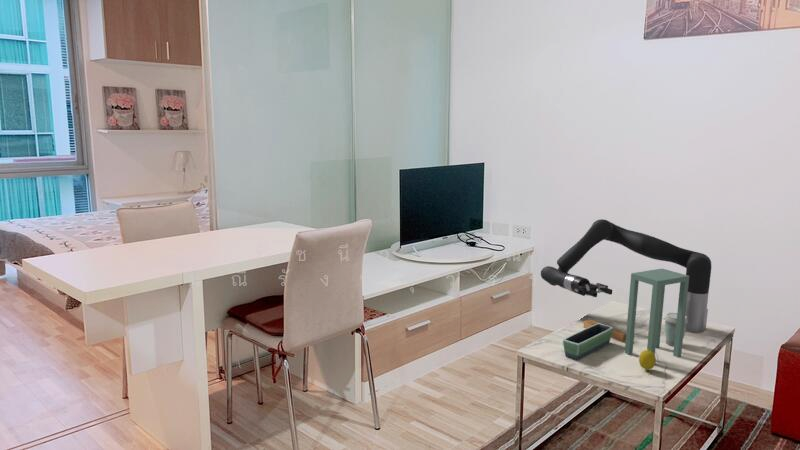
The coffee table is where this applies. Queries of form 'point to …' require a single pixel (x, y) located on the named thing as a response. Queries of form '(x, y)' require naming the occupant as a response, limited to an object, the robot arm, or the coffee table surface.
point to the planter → (587, 341)
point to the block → (616, 333)
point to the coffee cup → (672, 327)
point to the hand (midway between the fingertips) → (604, 293)
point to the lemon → (647, 359)
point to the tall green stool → (657, 307)
